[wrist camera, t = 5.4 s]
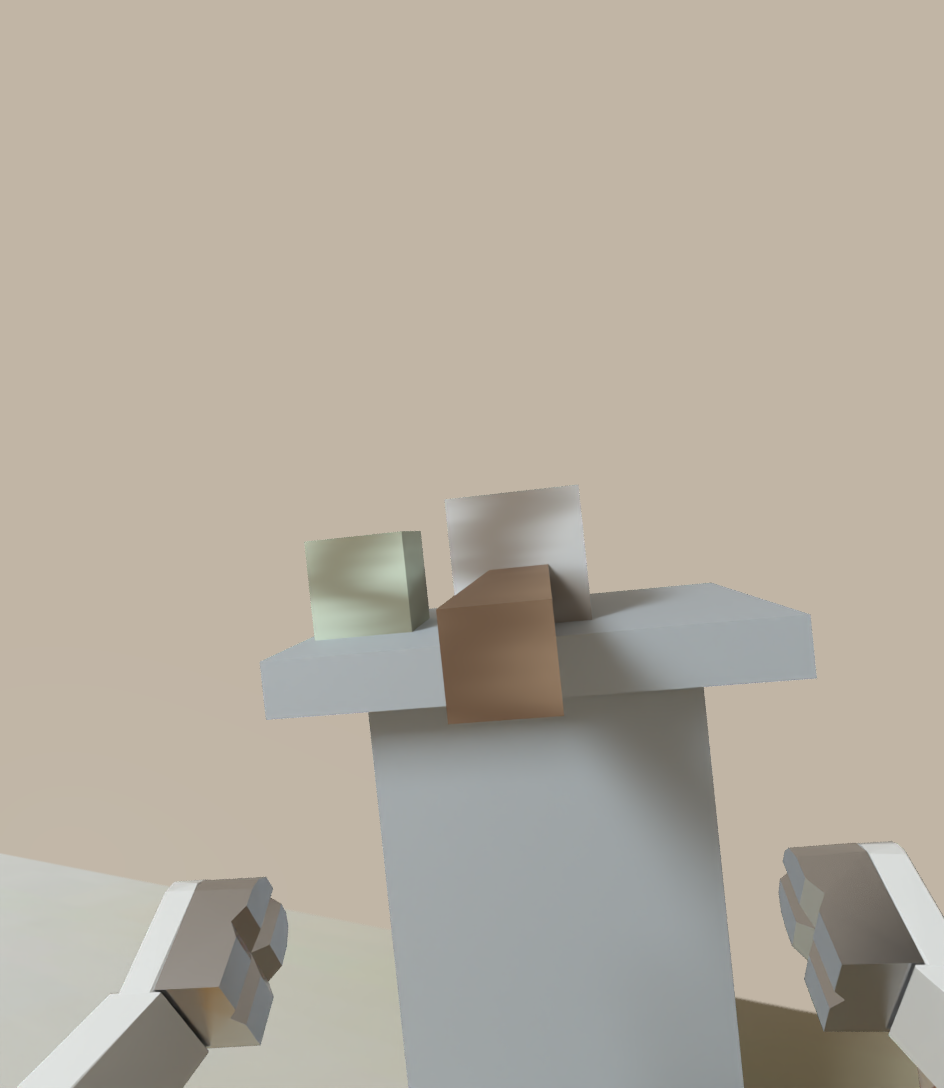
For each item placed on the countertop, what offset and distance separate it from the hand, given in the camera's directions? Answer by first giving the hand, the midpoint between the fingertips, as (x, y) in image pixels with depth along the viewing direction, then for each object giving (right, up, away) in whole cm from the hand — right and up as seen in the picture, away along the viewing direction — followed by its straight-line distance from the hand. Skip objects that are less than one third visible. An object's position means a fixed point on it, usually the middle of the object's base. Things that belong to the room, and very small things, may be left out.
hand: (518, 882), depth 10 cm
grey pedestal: (+4, -23, +17) cm, 29 cm away
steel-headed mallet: (+1, +2, +12) cm, 12 cm away
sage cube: (-5, +2, +18) cm, 18 cm away
